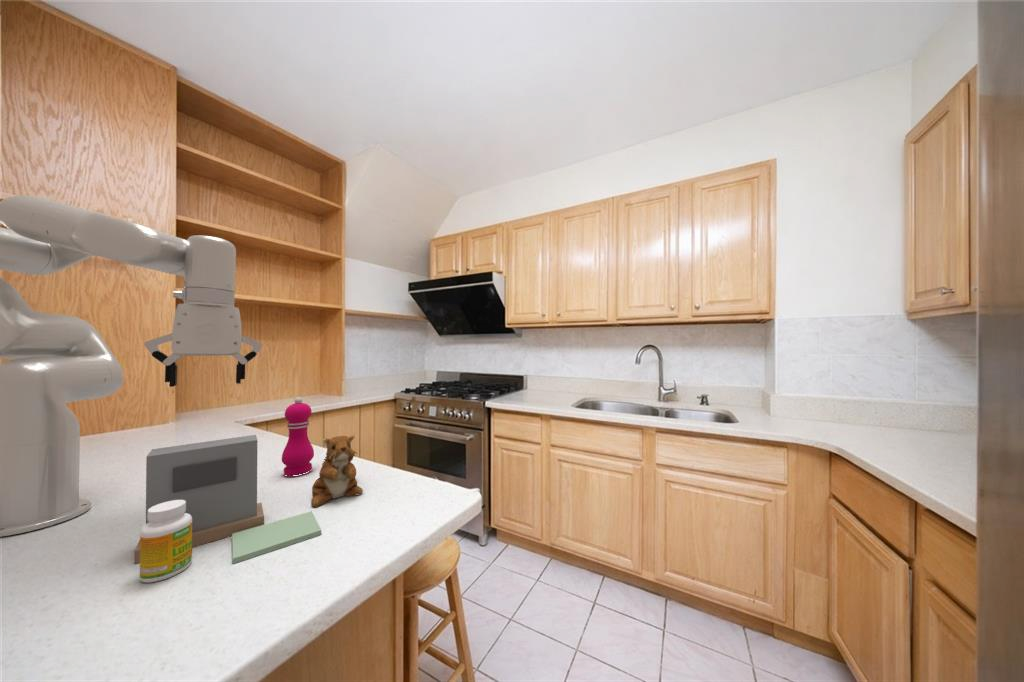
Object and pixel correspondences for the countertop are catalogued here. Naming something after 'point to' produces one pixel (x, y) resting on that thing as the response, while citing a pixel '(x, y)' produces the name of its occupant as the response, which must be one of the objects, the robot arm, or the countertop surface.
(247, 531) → the pad
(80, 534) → the countertop surface
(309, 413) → the pepper mill
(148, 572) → the supplement bottle
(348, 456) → the stuffed squirrel
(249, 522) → the panel
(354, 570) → the countertop surface
